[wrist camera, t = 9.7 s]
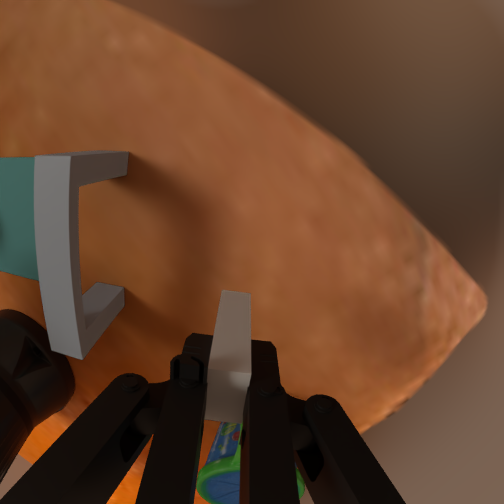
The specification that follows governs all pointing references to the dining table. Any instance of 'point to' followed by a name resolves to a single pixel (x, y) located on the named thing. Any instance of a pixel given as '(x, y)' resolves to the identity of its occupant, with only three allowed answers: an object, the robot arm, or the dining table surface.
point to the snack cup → (226, 468)
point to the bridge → (71, 249)
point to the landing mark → (17, 217)
